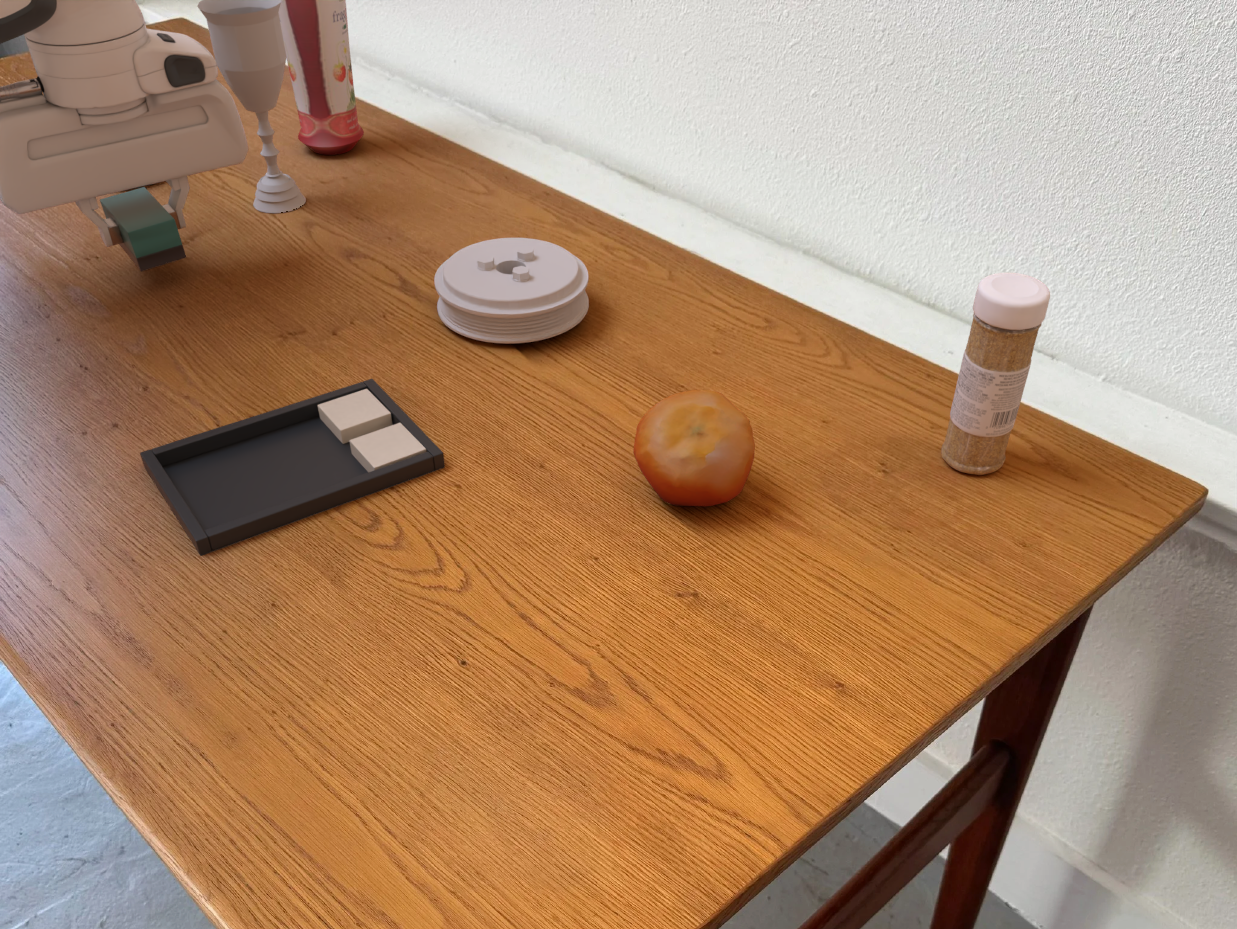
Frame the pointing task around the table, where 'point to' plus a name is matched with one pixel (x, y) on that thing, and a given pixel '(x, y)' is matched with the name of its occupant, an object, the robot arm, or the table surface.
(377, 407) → the chip
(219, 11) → the chalice
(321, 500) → the tray
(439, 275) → the lid
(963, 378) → the sprinkles bottle
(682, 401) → the fruit
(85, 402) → the table surface
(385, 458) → the chip
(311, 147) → the red and white bottle
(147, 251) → the eraser
